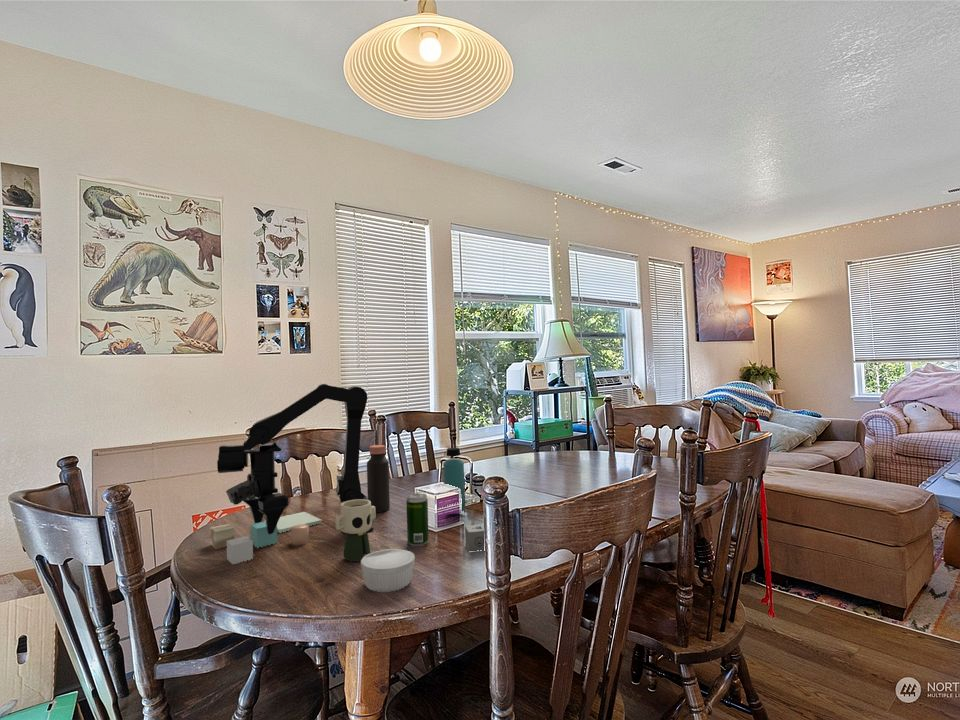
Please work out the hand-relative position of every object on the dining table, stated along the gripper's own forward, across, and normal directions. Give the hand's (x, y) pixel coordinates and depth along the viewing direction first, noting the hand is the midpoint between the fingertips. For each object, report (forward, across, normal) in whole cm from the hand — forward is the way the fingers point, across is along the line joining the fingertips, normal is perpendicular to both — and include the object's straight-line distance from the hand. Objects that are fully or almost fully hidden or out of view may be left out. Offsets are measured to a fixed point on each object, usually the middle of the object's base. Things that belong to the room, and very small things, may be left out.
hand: (264, 529), depth 131 cm
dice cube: (+4, +42, +36) cm, 56 cm away
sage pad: (+4, -11, +12) cm, 17 cm away
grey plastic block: (+4, +7, -8) cm, 11 cm away
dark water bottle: (+4, -5, +37) cm, 37 cm away
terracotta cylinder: (+4, +6, +7) cm, 10 cm away
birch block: (+4, -7, -8) cm, 11 cm away
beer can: (+4, +29, +28) cm, 40 cm away
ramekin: (+4, +44, +10) cm, 45 cm away
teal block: (+4, 0, 0) cm, 4 cm away
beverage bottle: (+4, +17, +50) cm, 53 cm away
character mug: (+4, +27, +12) cm, 30 cm away
